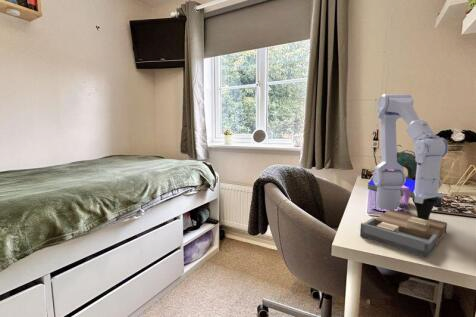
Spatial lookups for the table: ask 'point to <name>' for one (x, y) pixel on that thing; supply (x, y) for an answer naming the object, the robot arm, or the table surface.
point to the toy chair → (406, 192)
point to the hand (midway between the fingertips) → (422, 220)
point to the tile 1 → (388, 227)
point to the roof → (408, 183)
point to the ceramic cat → (407, 162)
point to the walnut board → (401, 221)
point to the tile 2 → (418, 223)
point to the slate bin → (398, 239)
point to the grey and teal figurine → (439, 197)
